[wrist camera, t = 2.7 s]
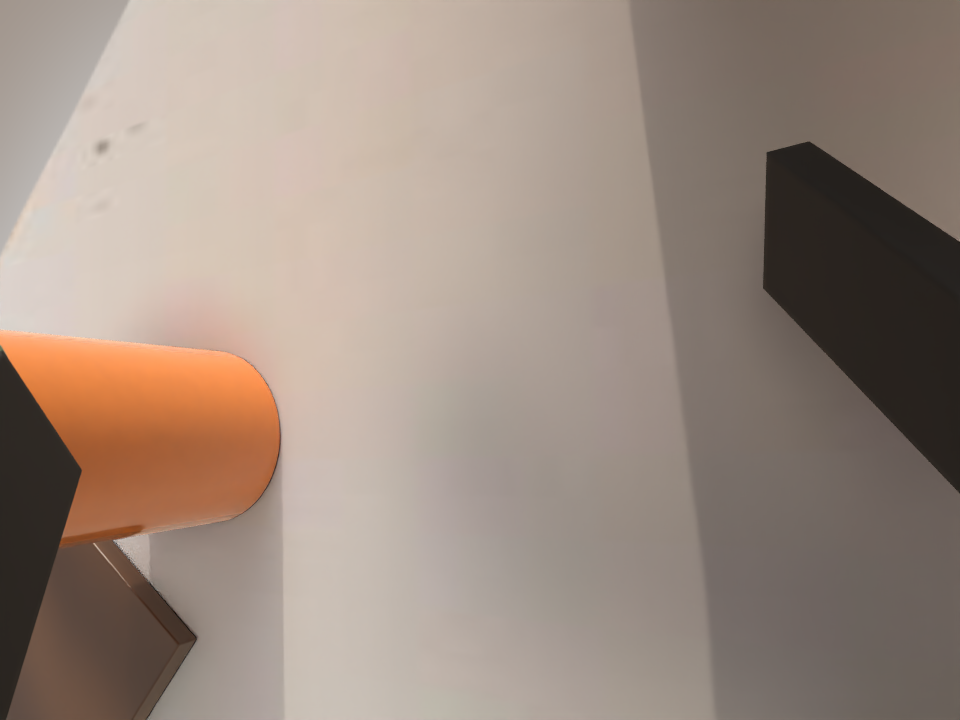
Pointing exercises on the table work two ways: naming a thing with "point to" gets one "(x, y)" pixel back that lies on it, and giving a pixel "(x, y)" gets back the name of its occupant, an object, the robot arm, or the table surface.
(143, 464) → the jar
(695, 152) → the table surface
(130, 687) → the board
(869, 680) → the table surface
